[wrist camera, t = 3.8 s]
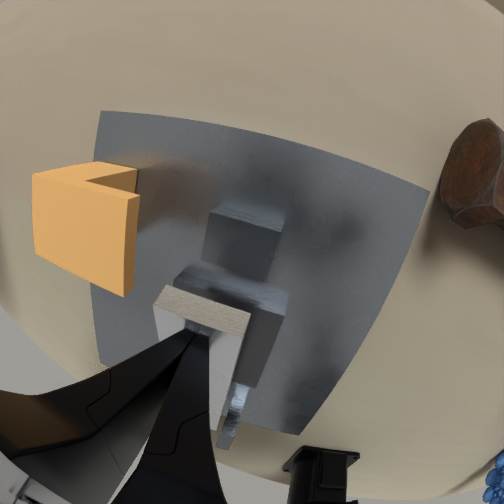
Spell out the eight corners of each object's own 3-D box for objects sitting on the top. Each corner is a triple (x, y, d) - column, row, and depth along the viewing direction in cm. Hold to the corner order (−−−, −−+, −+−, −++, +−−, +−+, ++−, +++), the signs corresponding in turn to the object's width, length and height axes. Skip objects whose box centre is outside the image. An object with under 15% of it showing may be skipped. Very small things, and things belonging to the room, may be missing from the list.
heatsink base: (300, 421, 20) (294, 470, 16) (109, 352, 22) (78, 386, 17) (419, 187, 12) (464, 207, 8) (116, 111, 14) (57, 109, 10)
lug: (175, 253, 15) (123, 297, 10) (93, 224, 15) (35, 253, 11) (186, 180, 13) (128, 199, 9) (98, 161, 14) (32, 174, 9)
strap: (220, 419, 18) (216, 431, 17) (182, 406, 18) (177, 417, 17) (251, 313, 9) (242, 338, 8) (166, 284, 9) (152, 305, 8)
